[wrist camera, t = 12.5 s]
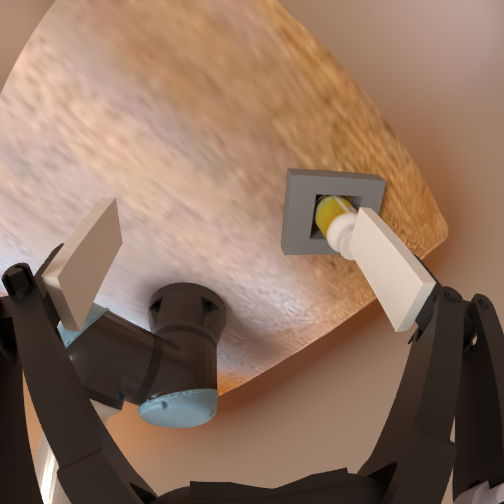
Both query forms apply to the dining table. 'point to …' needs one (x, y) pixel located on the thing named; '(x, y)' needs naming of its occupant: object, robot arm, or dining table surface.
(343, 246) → the pill bottle
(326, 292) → the dining table surface
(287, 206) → the bottle holder
